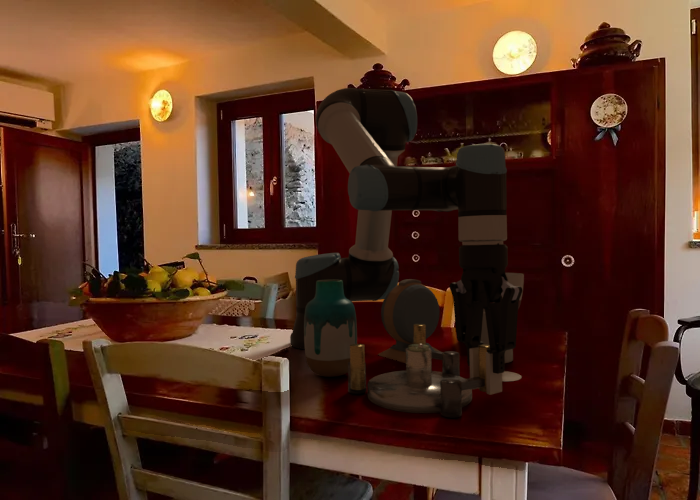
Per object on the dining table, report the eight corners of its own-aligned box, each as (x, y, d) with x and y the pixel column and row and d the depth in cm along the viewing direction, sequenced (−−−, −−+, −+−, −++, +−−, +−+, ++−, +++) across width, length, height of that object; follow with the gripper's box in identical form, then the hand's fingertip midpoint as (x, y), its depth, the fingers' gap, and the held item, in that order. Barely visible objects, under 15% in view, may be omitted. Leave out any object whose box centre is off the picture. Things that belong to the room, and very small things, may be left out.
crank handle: (462, 378, 98) (462, 328, 97) (454, 382, 95) (453, 330, 95) (419, 370, 104) (418, 323, 104) (410, 374, 102) (409, 325, 101)
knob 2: (449, 419, 77) (448, 354, 76) (436, 412, 79) (435, 350, 79) (499, 408, 81) (499, 347, 80) (486, 402, 84) (485, 343, 83)
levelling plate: (346, 398, 88) (345, 345, 88) (406, 375, 102) (405, 329, 101) (436, 421, 76) (435, 360, 76) (490, 392, 90) (489, 340, 90)
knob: (348, 388, 93) (347, 335, 92) (365, 388, 93) (364, 335, 92) (348, 406, 83) (347, 347, 83) (368, 406, 83) (367, 346, 83)
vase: (368, 374, 103) (366, 279, 102) (330, 386, 95) (328, 284, 95) (332, 365, 110) (330, 277, 110) (294, 376, 103) (292, 281, 102)
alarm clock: (419, 347, 127) (418, 276, 127) (448, 354, 119) (447, 278, 119) (374, 355, 119) (372, 280, 118) (402, 364, 111) (400, 282, 110)
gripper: (540, 242, 77) (543, 397, 77) (463, 243, 90) (466, 375, 90) (506, 243, 73) (510, 407, 73) (431, 244, 86) (434, 383, 86)
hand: (486, 389), depth 82 cm, fingers open, 3 cm apart
